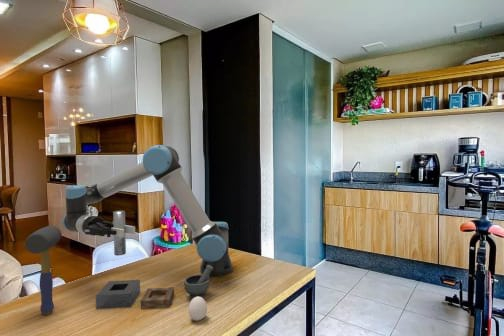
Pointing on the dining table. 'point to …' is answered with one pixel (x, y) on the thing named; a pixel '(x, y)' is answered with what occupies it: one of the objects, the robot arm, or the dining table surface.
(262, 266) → the dining table surface
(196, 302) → the egg
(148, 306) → the wooden square tray
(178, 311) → the dining table surface
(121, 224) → the brushed metal peg
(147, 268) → the dining table surface
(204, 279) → the mortar and pestle
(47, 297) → the rubber mallet
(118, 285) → the socket
